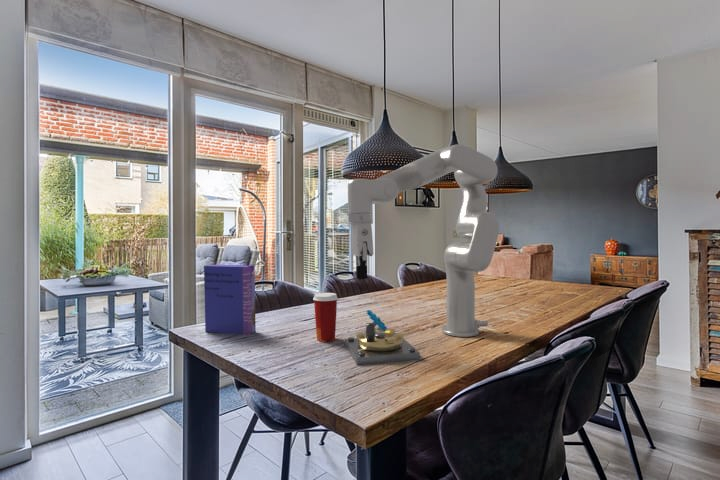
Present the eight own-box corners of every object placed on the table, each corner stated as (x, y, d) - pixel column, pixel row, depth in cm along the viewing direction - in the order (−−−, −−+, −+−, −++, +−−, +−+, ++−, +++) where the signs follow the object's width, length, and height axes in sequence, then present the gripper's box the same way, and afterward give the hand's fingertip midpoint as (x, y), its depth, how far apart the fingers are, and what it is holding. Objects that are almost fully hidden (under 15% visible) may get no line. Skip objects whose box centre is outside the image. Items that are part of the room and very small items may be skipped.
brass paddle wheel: (373, 335, 127) (373, 313, 127) (410, 342, 120) (410, 318, 119) (349, 346, 116) (349, 321, 116) (387, 354, 109) (387, 328, 108)
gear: (387, 331, 135) (367, 309, 137) (375, 343, 135) (355, 321, 137) (390, 327, 146) (372, 307, 148) (379, 338, 146) (360, 318, 148)
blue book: (255, 331, 142) (254, 264, 141) (248, 335, 137) (247, 266, 136) (213, 328, 147) (212, 264, 146) (205, 331, 142) (203, 265, 141)
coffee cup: (342, 337, 133) (342, 293, 133) (330, 344, 126) (330, 297, 125) (321, 334, 137) (320, 291, 136) (308, 341, 129) (307, 295, 129)
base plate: (399, 341, 128) (399, 333, 128) (419, 359, 111) (419, 350, 111) (344, 345, 125) (344, 337, 124) (356, 364, 107) (356, 355, 107)
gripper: (378, 218, 115) (380, 281, 116) (366, 219, 130) (367, 275, 131) (353, 219, 114) (355, 282, 115) (344, 220, 128) (345, 276, 129)
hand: (361, 278), depth 123 cm, fingers closed
